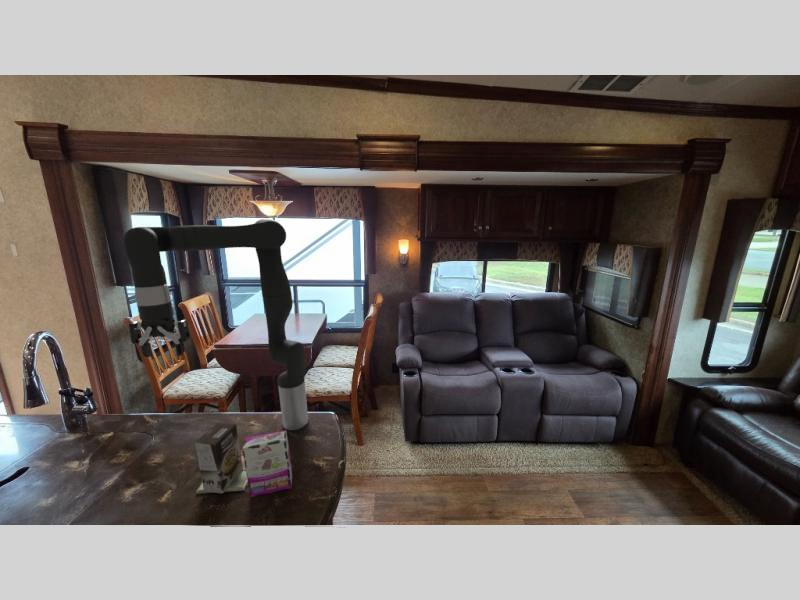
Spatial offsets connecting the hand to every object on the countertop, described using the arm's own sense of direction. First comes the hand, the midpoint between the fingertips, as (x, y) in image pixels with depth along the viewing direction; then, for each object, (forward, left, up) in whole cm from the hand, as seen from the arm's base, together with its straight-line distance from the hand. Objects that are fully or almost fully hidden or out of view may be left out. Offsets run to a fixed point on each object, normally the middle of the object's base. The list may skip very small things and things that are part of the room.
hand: (164, 355), depth 90 cm
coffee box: (+9, +15, -37) cm, 41 cm away
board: (+6, +16, -37) cm, 41 cm away
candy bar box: (+11, +30, -38) cm, 49 cm away
